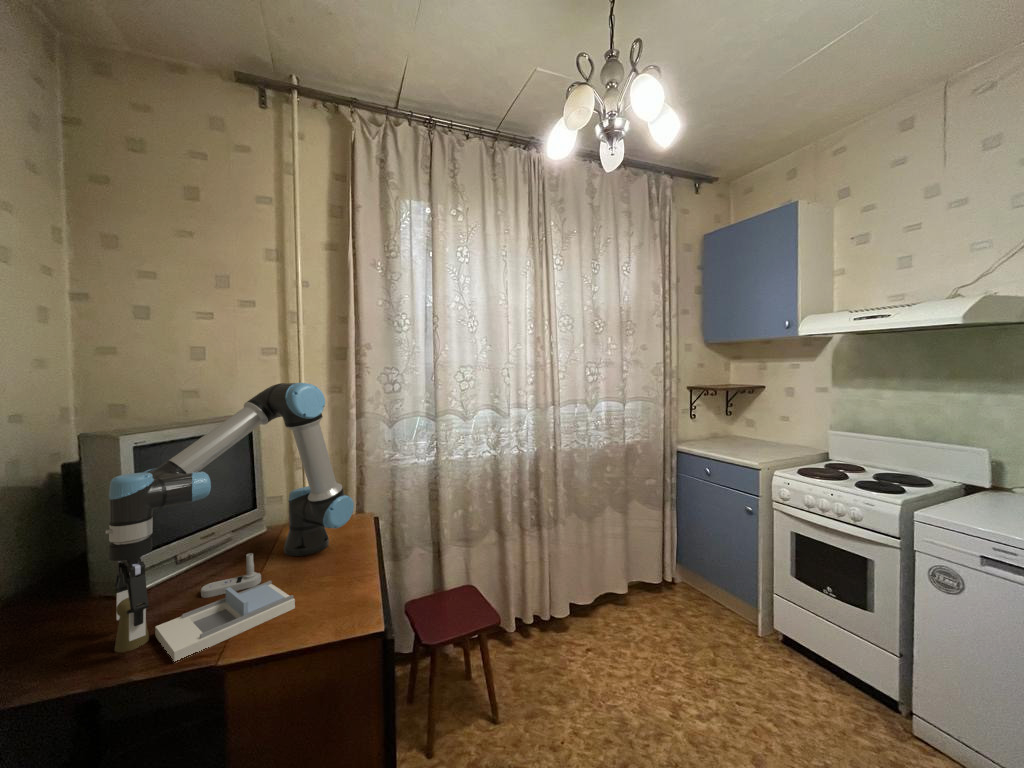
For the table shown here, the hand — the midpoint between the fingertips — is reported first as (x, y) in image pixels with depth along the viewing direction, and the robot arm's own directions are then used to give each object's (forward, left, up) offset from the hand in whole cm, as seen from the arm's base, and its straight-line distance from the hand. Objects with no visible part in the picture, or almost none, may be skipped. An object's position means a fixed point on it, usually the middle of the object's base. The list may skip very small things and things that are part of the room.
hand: (130, 627), depth 93 cm
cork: (0, 0, -4) cm, 4 cm away
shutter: (-24, +9, -2) cm, 25 cm away
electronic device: (-24, -10, -5) cm, 26 cm away
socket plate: (-17, +9, -4) cm, 20 cm away
